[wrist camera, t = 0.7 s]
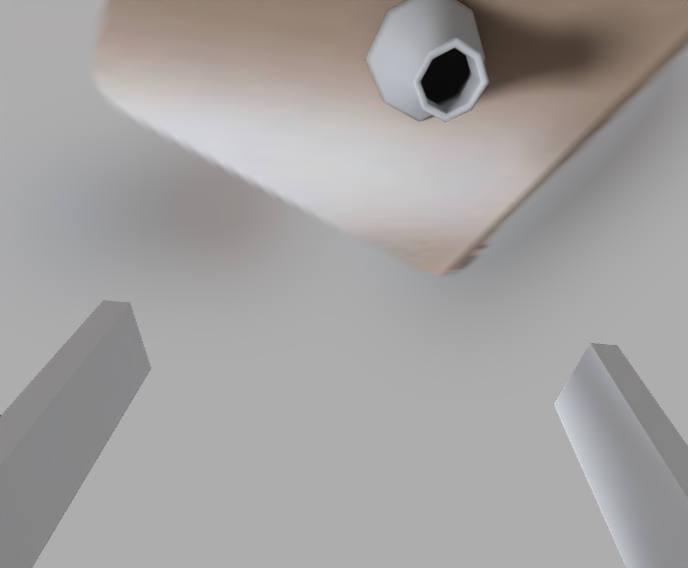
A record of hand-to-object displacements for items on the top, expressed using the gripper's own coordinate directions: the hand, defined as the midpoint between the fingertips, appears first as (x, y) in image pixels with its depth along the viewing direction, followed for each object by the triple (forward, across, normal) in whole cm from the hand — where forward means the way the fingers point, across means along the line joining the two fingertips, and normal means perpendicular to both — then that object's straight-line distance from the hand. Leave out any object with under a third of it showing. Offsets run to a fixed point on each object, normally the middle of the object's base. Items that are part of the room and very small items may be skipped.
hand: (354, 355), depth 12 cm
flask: (+22, +3, +6) cm, 23 cm away
